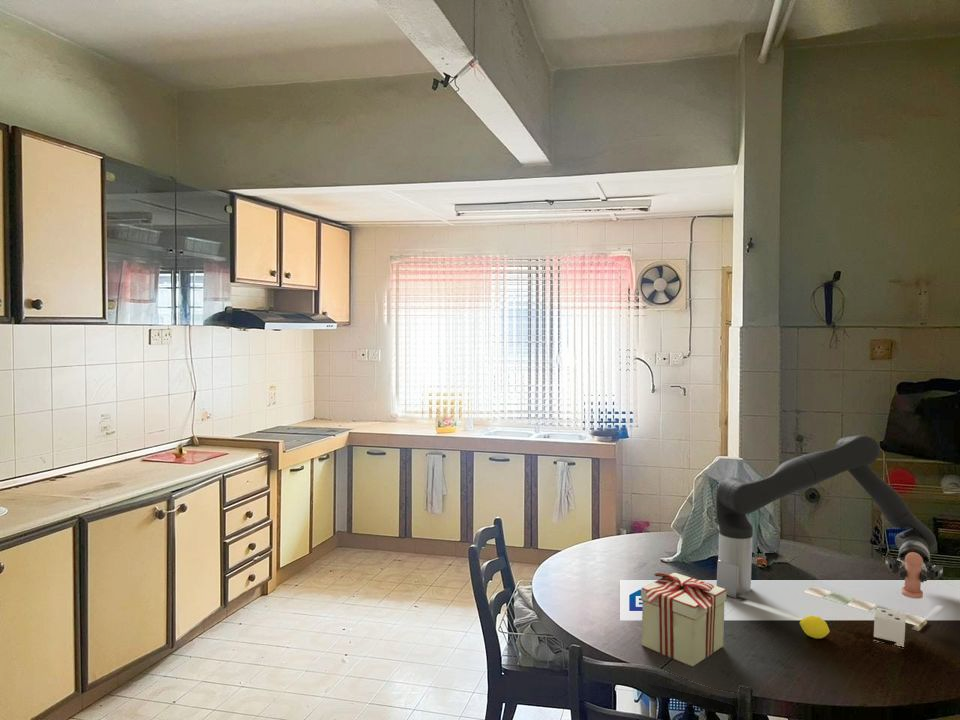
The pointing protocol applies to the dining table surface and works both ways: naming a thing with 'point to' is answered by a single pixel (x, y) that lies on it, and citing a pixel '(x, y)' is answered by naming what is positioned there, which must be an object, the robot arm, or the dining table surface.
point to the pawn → (913, 576)
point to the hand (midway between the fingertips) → (913, 577)
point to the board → (863, 605)
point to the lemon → (814, 627)
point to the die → (890, 626)
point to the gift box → (683, 617)
